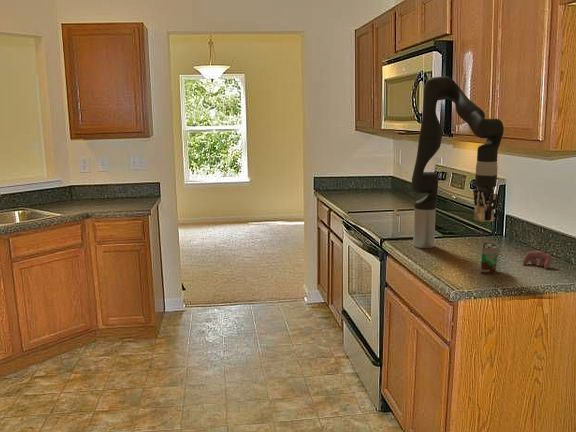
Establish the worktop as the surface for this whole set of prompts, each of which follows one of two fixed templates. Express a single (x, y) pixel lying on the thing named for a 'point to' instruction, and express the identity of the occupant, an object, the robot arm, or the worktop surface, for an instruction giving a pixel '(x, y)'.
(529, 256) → the pink toy figure
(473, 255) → the worktop surface
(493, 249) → the food container
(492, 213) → the birch cube
